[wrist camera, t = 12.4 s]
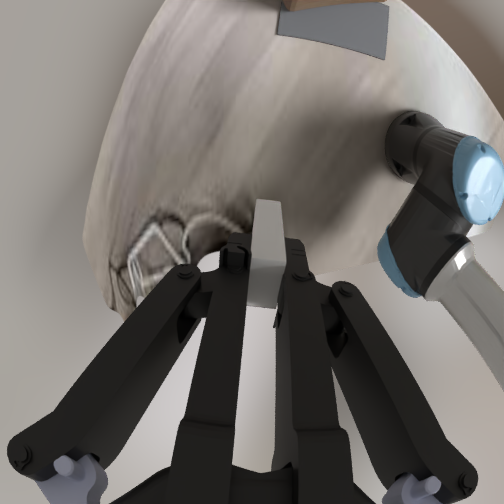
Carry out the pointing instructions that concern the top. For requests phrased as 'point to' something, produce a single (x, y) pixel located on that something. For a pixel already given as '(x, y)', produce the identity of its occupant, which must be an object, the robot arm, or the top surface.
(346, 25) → the mat
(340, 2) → the block
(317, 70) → the top surface
